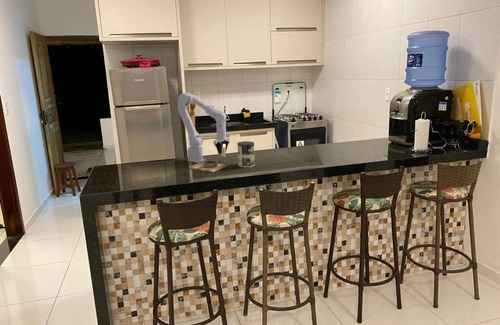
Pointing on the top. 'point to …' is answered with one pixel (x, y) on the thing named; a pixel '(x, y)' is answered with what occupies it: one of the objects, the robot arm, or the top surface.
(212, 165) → the steel ring
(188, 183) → the top surface
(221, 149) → the robot arm
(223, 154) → the aluminium piston
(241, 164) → the coffee can
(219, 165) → the birch board
